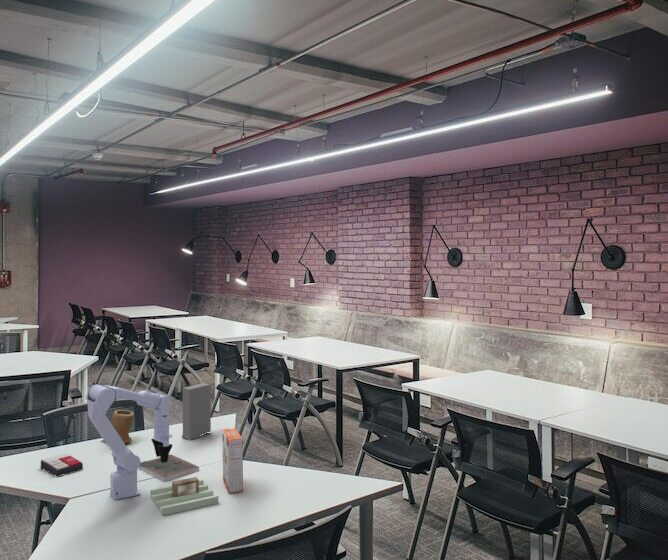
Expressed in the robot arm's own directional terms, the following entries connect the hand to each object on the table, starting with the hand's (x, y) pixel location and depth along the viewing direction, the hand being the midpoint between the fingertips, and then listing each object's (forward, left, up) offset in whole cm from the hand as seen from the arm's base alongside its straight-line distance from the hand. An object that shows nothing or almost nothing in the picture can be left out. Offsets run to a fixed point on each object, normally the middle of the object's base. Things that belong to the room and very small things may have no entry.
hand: (161, 459), depth 229 cm
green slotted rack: (+3, -20, -9) cm, 22 cm away
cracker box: (+23, -17, -10) cm, 30 cm away
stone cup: (-5, +61, -10) cm, 62 cm away
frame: (+4, -20, -8) cm, 22 cm away
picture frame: (+6, +13, -10) cm, 18 cm away
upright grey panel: (+30, +51, -10) cm, 60 cm away
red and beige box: (-33, +36, -10) cm, 50 cm away
